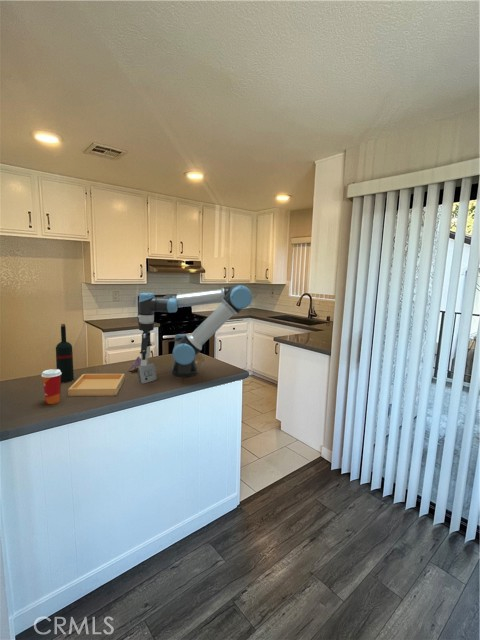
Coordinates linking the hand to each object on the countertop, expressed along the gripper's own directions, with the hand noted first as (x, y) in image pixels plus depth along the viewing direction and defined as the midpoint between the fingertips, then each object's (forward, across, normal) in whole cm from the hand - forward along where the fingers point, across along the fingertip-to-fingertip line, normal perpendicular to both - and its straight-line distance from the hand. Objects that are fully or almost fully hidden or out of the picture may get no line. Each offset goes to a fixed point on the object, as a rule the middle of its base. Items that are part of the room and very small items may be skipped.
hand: (145, 361), depth 170 cm
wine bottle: (+12, -3, -42) cm, 43 cm away
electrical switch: (+11, 0, 0) cm, 11 cm away
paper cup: (+11, +25, -36) cm, 46 cm away
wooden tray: (+11, +9, -22) cm, 26 cm away
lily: (+11, -17, -7) cm, 21 cm away
